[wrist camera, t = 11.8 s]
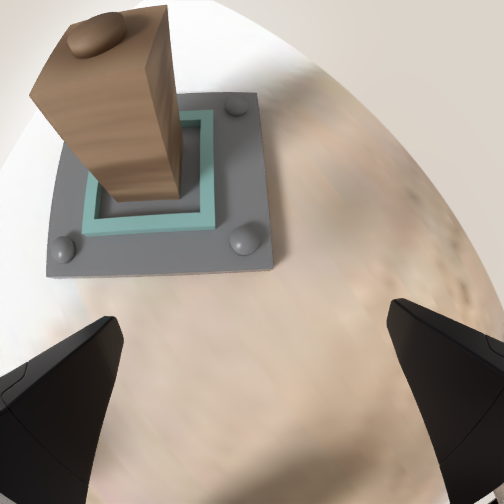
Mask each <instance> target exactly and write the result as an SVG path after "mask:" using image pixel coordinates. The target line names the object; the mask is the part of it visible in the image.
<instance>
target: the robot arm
mask: <svg viewBox="0 0 504 504" xmlns="http://www.w3.org/2000/svg"><path fill="white" fill-rule="evenodd" d="M387 328H388V331H389V334H390V337H391V340H392V342H393V345H394V348H395V351H396V354H397V357H398V360H399V363H400V365H401V368H402V370H403V372H404V374H405V377H406V379H407V381H408V384H409V386H410V388H411V391H412V393H413V395H414V398H415V400H416V403H417V405H418V408H419V410H420V413H421V415H422V418H423V420H424V423H425V426H426V428H427V431H428V434H429V436H430V439H431V442H432V445H433V448H434V451H435V454H436V457H437V460H438V463H439V466H440V469H441V473H442V476H443V479H444V483H445V486H446V490H447V493H448V497H449V501H450V504H474V503H475V502H477V501H479V500H480V499H482V498H483V497H485V496H486V495H488V494H489V493H491V492H492V491H493V492H494V494H495V496H496V498H495V499H494V500H492V501H491V502H490V503H488V504H504V342H501V341H499V340H497V339H494V338H492V337H490V336H488V335H484V334H483V333H481V332H479V331H477V330H475V329H472V328H470V327H468V326H466V325H463V324H461V323H459V322H457V321H454V320H452V319H450V318H448V317H445V316H443V315H441V314H439V313H436V312H434V311H432V310H430V309H427V308H425V307H423V306H420V305H418V304H416V303H414V302H411V301H409V300H407V299H404V298H399V299H394V300H392V301H391V304H390V308H389V312H388V317H387ZM123 344H124V338H123V334H122V331H121V329H120V326H119V323H118V321H117V319H116V317H114V316H104V317H102V318H100V319H98V320H97V321H95V322H93V323H92V324H90V325H88V326H86V327H85V328H83V329H81V330H80V331H78V332H76V333H75V334H73V335H71V336H69V337H68V338H66V339H64V340H63V341H61V342H59V343H58V344H56V345H54V346H53V347H51V348H49V349H48V350H46V351H44V352H43V353H41V354H39V355H38V356H36V357H34V358H33V359H31V360H29V362H26V363H24V364H23V365H21V366H19V367H18V368H16V369H14V370H13V371H11V372H9V373H7V374H5V375H4V376H2V377H0V504H85V503H86V497H87V492H88V485H89V480H90V475H91V470H92V466H93V461H94V457H95V452H96V448H97V444H98V440H99V436H100V432H101V428H102V425H103V421H104V417H105V414H106V410H107V407H108V403H109V400H110V397H111V393H112V390H113V387H114V383H115V380H116V376H117V371H118V366H119V362H120V357H121V352H122V348H123Z"/></svg>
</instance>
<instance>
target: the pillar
mask: <svg viewBox="0 0 504 504" xmlns="http://www.w3.org/2000/svg"><path fill="white" fill-rule="evenodd" d="M29 96H30V98H31V99H32V100H33V102H34V103H35V104H36V106H37V107H38V108H39V110H40V111H41V112H42V114H43V115H44V116H45V118H46V119H47V120H48V121H49V123H50V124H51V125H52V127H53V128H54V129H55V130H56V132H57V133H58V134H59V135H60V137H61V138H62V139H63V140H64V142H65V143H66V144H67V145H68V146H69V148H70V149H71V150H72V151H73V152H74V154H75V155H76V156H77V157H78V158H79V160H80V161H81V162H82V163H83V164H84V165H85V167H86V168H87V169H88V170H89V171H90V172H91V174H92V175H93V176H94V177H95V178H96V179H97V180H98V182H99V183H100V184H101V185H102V186H103V187H104V188H105V189H106V191H107V192H108V193H109V194H110V195H111V196H112V197H113V198H114V199H115V201H116V202H117V203H119V202H135V201H155V200H180V194H181V173H182V157H183V143H184V142H183V136H182V130H181V123H180V116H179V109H178V102H177V94H176V87H175V79H174V70H173V62H172V53H171V43H170V33H169V21H168V9H167V5H161V6H153V7H145V8H139V9H133V10H127V11H122V12H109V13H104V14H100V15H97V16H95V17H92V18H90V19H88V20H86V21H82V22H79V23H76V24H72V25H70V27H69V28H68V29H67V31H66V32H65V33H64V35H63V36H62V38H61V39H60V41H59V42H58V44H57V46H56V47H55V49H54V50H53V52H52V54H51V55H50V57H49V59H48V60H47V62H46V64H45V66H44V67H43V69H42V71H41V73H40V75H39V77H38V78H37V80H36V82H35V84H34V86H33V88H32V90H31V92H30V94H29Z"/></svg>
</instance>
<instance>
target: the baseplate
mask: <svg viewBox="0 0 504 504" xmlns="http://www.w3.org/2000/svg"><path fill="white" fill-rule="evenodd" d="M177 102H178V109H179V116H180V123H181V130H182V136H183V142H184V143H183V157H182V173H181V194H180V200H155V201H135V202H119V203H117V202H116V201H115V199H114V198H113V197H112V196H111V195H110V194H109V193H108V192H107V191H106V189H105V188H104V187H103V186H102V185H101V184H100V183H99V182H98V180H97V179H96V178H95V177H94V176H93V175H92V174H91V172H90V171H89V170H88V169H87V168H86V167H85V165H84V164H83V163H82V162H81V161H80V160H79V158H78V157H77V156H76V155H75V154H74V152H73V151H72V150H71V149H70V148H69V146H68V145H67V144H66V143H65V142H64V144H63V148H62V152H61V156H60V161H59V165H58V170H57V175H56V181H55V186H54V192H53V198H52V205H51V213H50V222H49V232H48V244H47V264H46V277H49V278H55V279H63V278H111V277H144V276H171V275H195V274H217V273H237V272H256V271H270V270H272V269H274V268H273V255H272V243H271V231H270V219H269V208H268V197H267V186H266V175H265V165H264V155H263V145H262V135H261V125H260V116H259V107H258V98H257V93H241V92H211V93H186V94H177Z"/></svg>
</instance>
